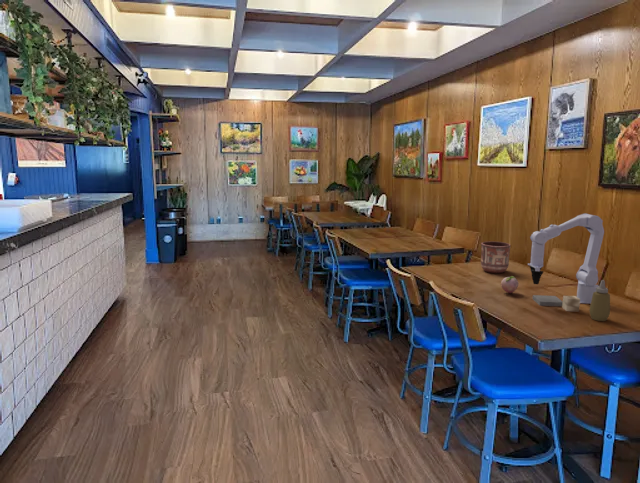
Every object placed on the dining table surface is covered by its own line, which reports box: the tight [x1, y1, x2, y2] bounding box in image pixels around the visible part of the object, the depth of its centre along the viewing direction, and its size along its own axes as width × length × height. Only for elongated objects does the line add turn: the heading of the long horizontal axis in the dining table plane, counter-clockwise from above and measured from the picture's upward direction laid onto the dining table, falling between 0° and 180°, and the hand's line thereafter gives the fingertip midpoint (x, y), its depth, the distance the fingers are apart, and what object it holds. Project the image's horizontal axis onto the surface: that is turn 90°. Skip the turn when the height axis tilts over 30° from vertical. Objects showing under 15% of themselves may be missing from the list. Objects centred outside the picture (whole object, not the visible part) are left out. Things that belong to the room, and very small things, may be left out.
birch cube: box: [561, 295, 581, 312], centre depth 219 cm, size 6×6×6 cm
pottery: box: [480, 240, 511, 274], centre depth 292 cm, size 18×18×18 cm
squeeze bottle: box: [588, 279, 611, 322], centre depth 204 cm, size 8×8×18 cm
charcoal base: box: [532, 294, 563, 307], centre depth 230 cm, size 11×11×2 cm
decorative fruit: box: [500, 275, 519, 294], centre depth 244 cm, size 9×8×10 cm
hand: (535, 282), depth 230 cm, fingers open, 7 cm apart
